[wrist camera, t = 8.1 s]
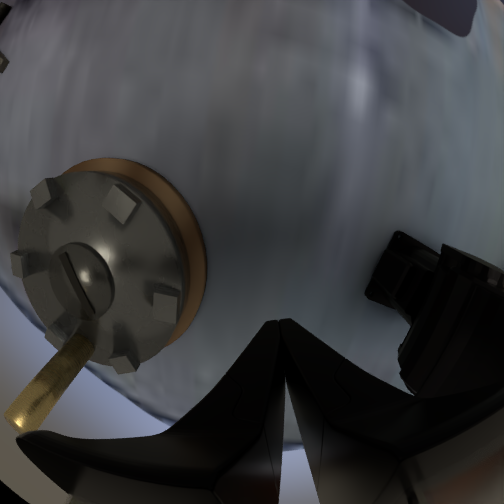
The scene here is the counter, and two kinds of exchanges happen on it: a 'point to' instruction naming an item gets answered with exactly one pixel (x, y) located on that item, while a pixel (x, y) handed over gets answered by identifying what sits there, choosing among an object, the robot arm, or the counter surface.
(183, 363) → the counter surface
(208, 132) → the counter surface
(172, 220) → the ring nut
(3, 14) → the door handle
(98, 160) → the base
